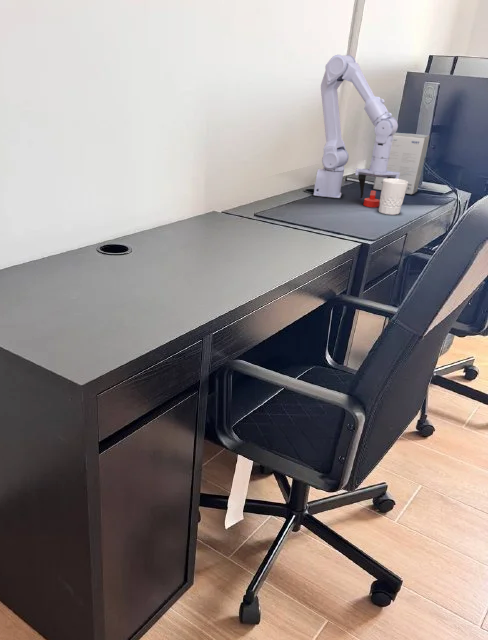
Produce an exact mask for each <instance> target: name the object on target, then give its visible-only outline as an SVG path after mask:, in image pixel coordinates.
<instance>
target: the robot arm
mask: <svg viewBox="0 0 488 640" xmlns="http://www.w3.org/2000/svg"><path fill="white" fill-rule="evenodd" d="M324 68H325V71H324V74H323V77H322V80H321V83H320V93H321V105H322V114H323V115H322V116H323V124H324V135H325V144H324V146H323V155H322V159H321V163H322V166H323V168H318V169H317V171H316V177H315V182H314V185H313V186H314V187H313V196H315V197H324V198H332V199H333V198H334V199H341V196H342V194H343V193H342V192H341V190H342V184H343V178H344V173H345V165H346V164H348V162H349V157H350V156H349V152H348V151H347V148H346V143H345V141H344V140H343V137H342V126H341V115H340V105H339V94H338V93H339V92H338V89H339V88H340V86H341V85H342V84H343V82H344V81H347V82H350V83H351V84H352V85H353V86H354V88H355V89H356V91H357V92H358V94H359V95H360V97H361V99H362V100H363V102H364V108H363V109H364V111H365V113H366V115H367V117H368V118H369V120H370V121H371V123H372V125H373V126H374V134H375V139H374V143H373V148H372V154H371V157H370V164H369V168H355V173H354V176H357V177H358V178H357V179H358V183H359V188H360V197H359V198H360V199H364V198H363V197H364V191H365V184H366V178H367V177H374V178H375V177H383V178H392V179H399V174H400V172H392V171H387V166H388V161H389V157H390V152H391V147H392V141H393V136H394V135H393V134H394V133H397V131H398V128H399V124H398V120H397V118H395V117H394V116H393V114H392V112H389V110H388V108H387V107H386V105H385V103H386V101H385V99H384V98H381V97H380V96H376V95H375V94H374V92H373V90H372V88H371V86H370V85H369V83H368V80H367V78H366V77H365V74H364V73H363V71H362V69H361V66H360V64H359V63H358V62H356V59H355V57H354V56H353V55H351V54H345V55H344V54H343V55H342V54H334V55H333V56H332V57H331V58H330V59H329V60H328V62H327V63H326V64H325V66H324ZM382 175H383V176H382Z"/></svg>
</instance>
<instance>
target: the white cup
mask: <svg viewBox="0 0 488 640" xmlns="http://www.w3.org/2000/svg"><path fill="white" fill-rule="evenodd" d="M407 185H408V181H405V180H401V179H392V178H387V179H383V183H382V189H381V190H380V195H379V196H380V197H379V200H380V202H379V207H378V212H379V213H380V214H383V215H389V216H390V215H391V216H395V215H399V214H400V213H401V210H402V205H403V203H404V200H405V196H406V194H405V193H406V189H407Z"/></svg>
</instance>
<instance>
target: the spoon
mask: <svg viewBox="0 0 488 640" xmlns="http://www.w3.org/2000/svg"><path fill="white" fill-rule="evenodd" d="M376 196H377V191H376V190H370V193H369V197H365V198H363V206H364V207H367V208H379V205H380V198H379V199H378V198H376Z"/></svg>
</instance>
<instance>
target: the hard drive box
mask: <svg viewBox="0 0 488 640" xmlns="http://www.w3.org/2000/svg"><path fill="white" fill-rule="evenodd" d="M393 135H394V136H393V141H392V147H391V152H390V157H389V161H388V166H387V171H392V172H400V174H399V179H401V180H405V181H408V185H407V189H406V193H405V195H415V194H416V193H417V192H418V190H419V184H420V180H421V176H422V173H423V172H422V171H423V167H424V163H425V159H426V154H427V151H428V150H427V149H428V144H429V141H430V135H427V134H415V133H407V132H406V133H405V132H402V133H401V132H395V133H394V134H393ZM382 176H383V175H382ZM383 179H387V178H383V177H374V180H373V186H372V189H373V190H377V191H381V189H382V183H383Z"/></svg>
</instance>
